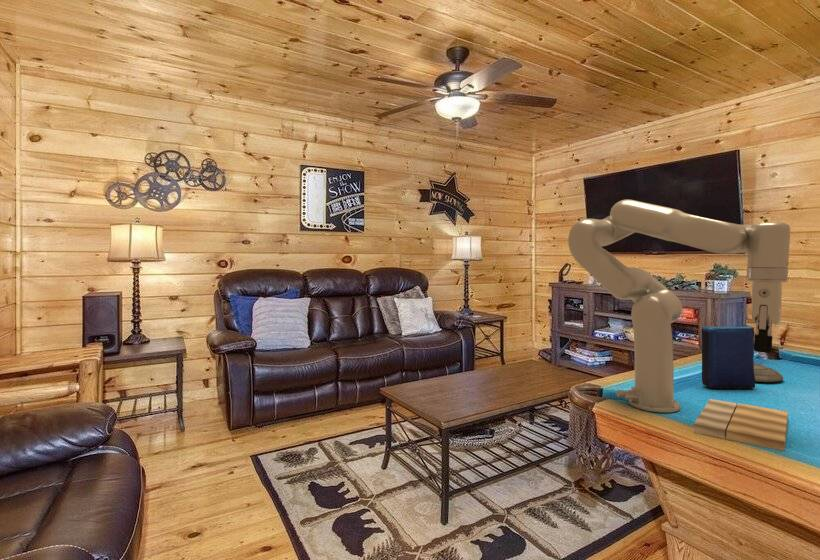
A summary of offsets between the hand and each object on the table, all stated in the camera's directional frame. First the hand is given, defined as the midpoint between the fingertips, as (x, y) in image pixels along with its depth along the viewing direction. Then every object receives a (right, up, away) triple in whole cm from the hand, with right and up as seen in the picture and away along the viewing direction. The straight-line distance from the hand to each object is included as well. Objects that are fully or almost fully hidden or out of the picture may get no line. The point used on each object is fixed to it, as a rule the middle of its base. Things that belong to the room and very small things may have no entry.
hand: (762, 351), depth 103 cm
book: (+16, -17, +33) cm, 40 cm away
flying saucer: (+32, -17, +43) cm, 56 cm away
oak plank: (-1, -19, 0) cm, 19 cm away
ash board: (-7, -18, +6) cm, 21 cm away
